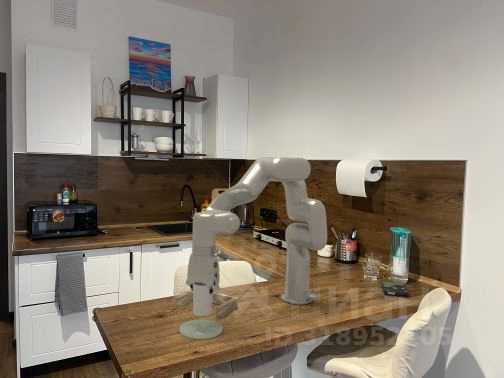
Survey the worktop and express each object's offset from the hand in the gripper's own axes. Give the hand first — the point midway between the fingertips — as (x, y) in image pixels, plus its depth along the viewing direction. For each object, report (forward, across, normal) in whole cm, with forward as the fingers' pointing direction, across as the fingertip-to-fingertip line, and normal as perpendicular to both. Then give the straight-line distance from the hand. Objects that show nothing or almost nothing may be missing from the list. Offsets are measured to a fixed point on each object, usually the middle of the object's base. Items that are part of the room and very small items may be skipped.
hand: (201, 305), depth 131 cm
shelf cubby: (+8, +10, -18) cm, 22 cm away
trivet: (+8, 0, 0) cm, 8 cm away
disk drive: (+9, -48, -82) cm, 95 cm away
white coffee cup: (+2, 0, 0) cm, 2 cm away
